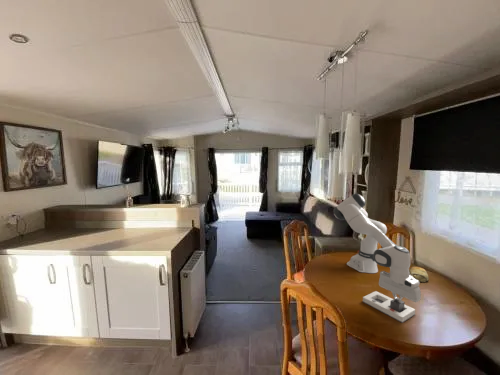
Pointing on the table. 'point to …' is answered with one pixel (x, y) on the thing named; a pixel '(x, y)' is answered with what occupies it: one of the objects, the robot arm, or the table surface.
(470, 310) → the table surface
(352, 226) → the robot arm
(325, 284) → the table surface
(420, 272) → the pastry
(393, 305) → the plug
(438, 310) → the table surface
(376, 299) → the socket board
